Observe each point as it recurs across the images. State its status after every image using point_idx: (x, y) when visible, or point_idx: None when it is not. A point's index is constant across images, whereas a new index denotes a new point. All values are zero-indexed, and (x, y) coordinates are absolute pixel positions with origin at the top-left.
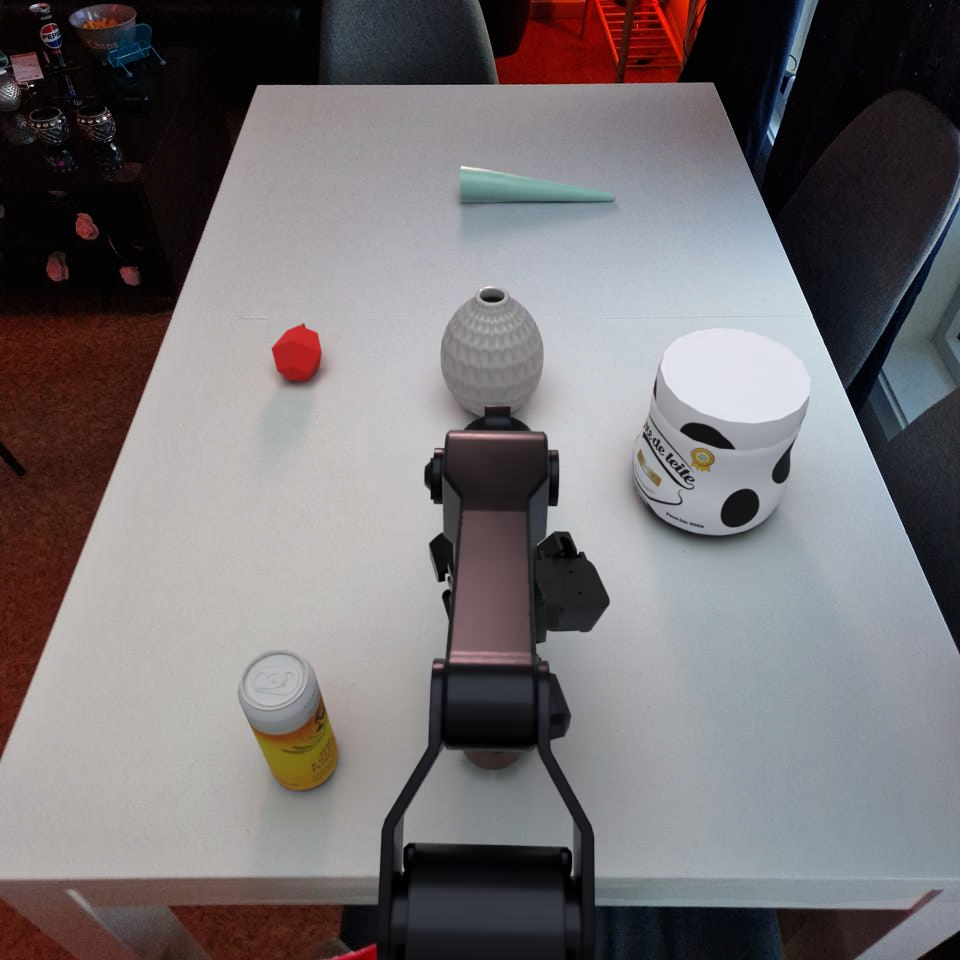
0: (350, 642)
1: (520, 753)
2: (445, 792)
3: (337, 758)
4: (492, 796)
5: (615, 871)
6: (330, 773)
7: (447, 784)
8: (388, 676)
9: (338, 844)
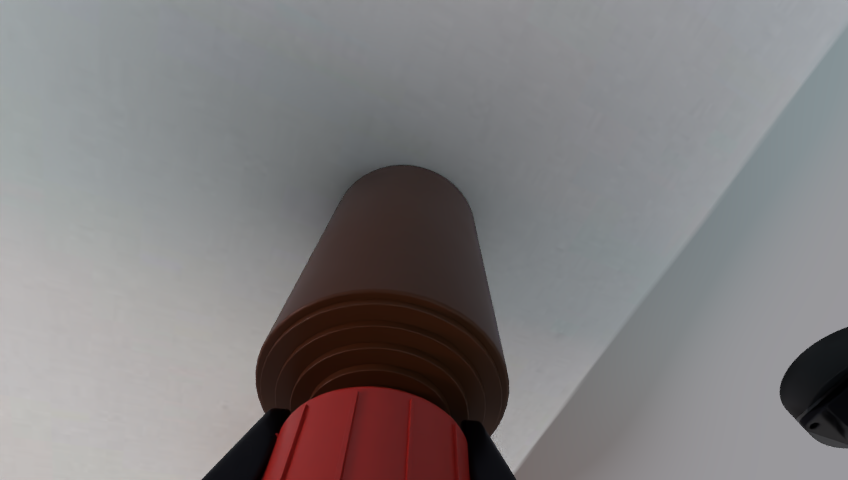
0: (134, 397)
1: (462, 196)
2: None
3: None
4: (516, 270)
5: (787, 101)
6: None
7: None
8: (218, 360)
9: None
